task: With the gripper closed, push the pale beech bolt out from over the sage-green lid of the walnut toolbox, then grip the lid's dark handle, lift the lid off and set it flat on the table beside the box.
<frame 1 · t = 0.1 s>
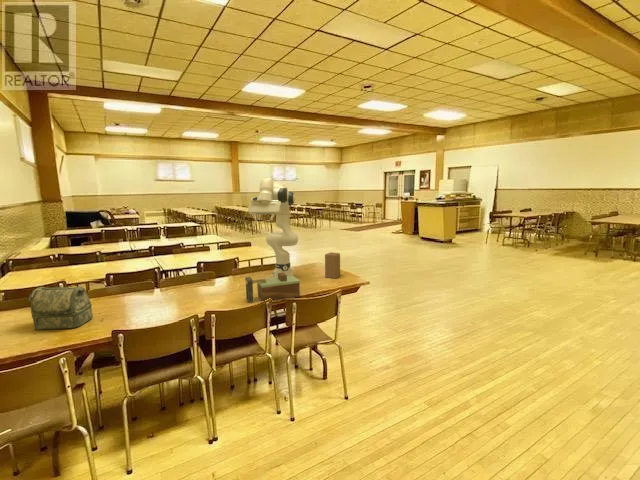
hand: (263, 220, 212), 54 cm above the table, tool tilted 30°, fingers open, 8 cm apart
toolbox: (278, 296, 232), on the table
lid: (278, 283, 231), point 9 cm above the table, touching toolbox
wooden block: (332, 277, 282), on the table
bolt: (255, 281, 224), point 13 cm above the table, slide at 0.0 cm
lunch bag: (63, 324, 189), on the table
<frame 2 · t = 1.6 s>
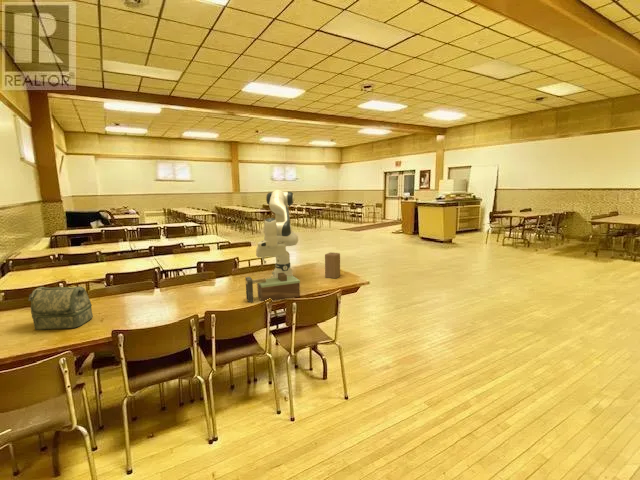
hand: (271, 262, 227), 24 cm above the table, tool pointing down, fingers open, 8 cm apart
nothing on the table moved.
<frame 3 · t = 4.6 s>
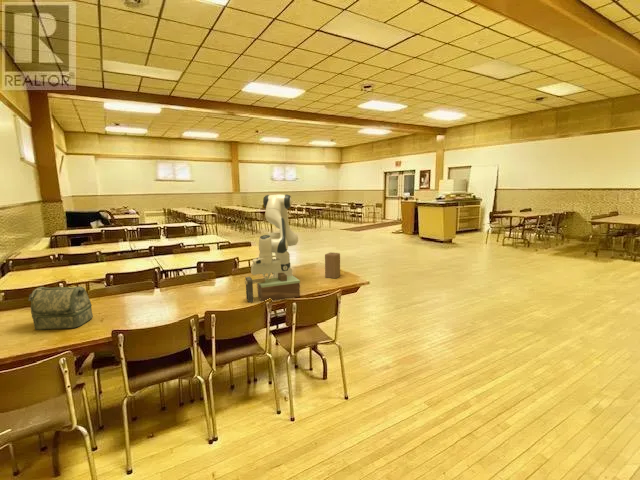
hand: (266, 279, 227), 13 cm above the table, tool pointing down, fingers closed
bolt: (255, 281, 224), point 13 cm above the table, slide at 0.5 cm, touching gripper
everything else where it was.
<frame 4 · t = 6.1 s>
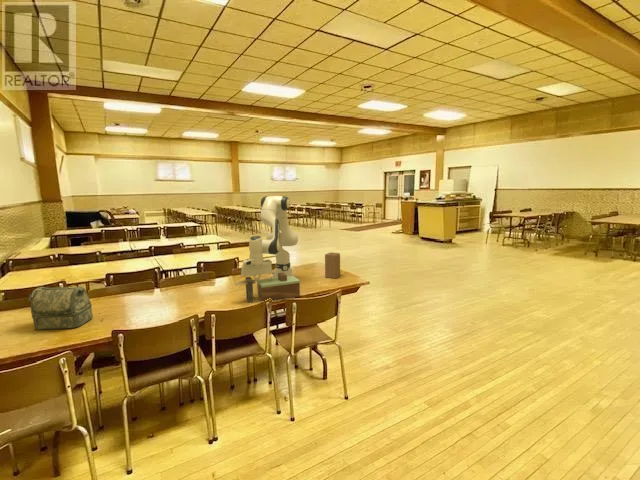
hand: (257, 280, 225), 13 cm above the table, tool pointing down, fingers closed
bolt: (245, 282, 221), point 13 cm above the table, slide at 7.0 cm, touching gripper
everything else where it was.
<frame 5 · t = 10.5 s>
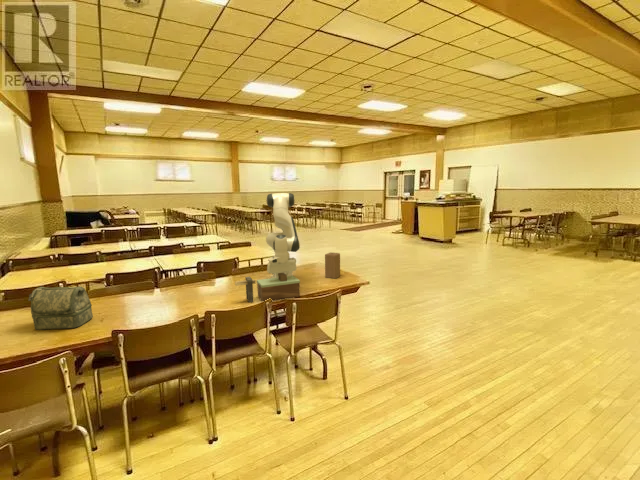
hand: (282, 278, 232), 13 cm above the table, tool pointing down, fingers closed on lid, 4 cm apart
lid: (278, 283, 231), point 9 cm above the table, touching gripper, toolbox
bolt: (245, 282, 221), point 13 cm above the table, slide at 7.0 cm
everything else where it was.
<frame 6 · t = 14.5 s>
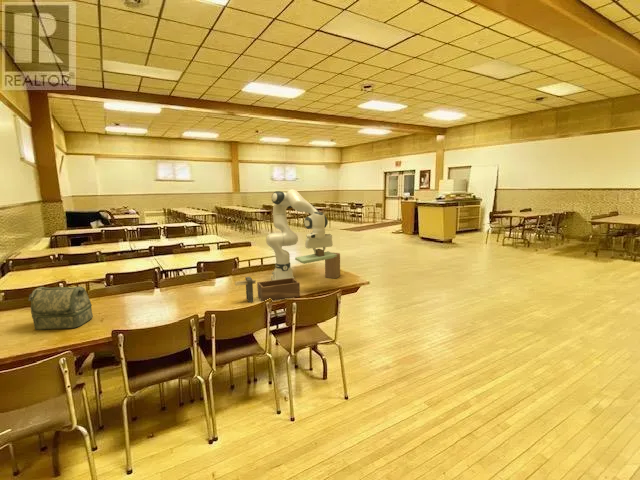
hand: (319, 253, 243), 27 cm above the table, tool pointing down, fingers closed on lid, 4 cm apart
lid: (316, 259, 242), point 23 cm above the table, touching gripper
everything else where it was.
when the fingers open (5 cm above the table, at t = 19.0 s): lid drops 1 cm, on the table.
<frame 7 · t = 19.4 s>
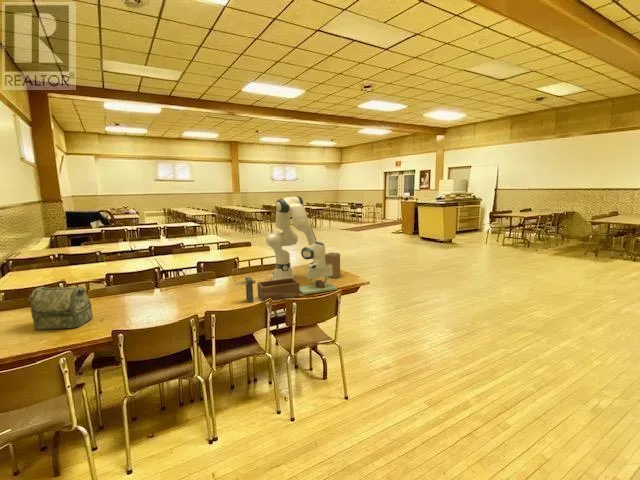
hand: (319, 282, 246), 5 cm above the table, tool pointing down, fingers open, 8 cm apart
lid: (316, 290, 246), on the table
everything else where it was.
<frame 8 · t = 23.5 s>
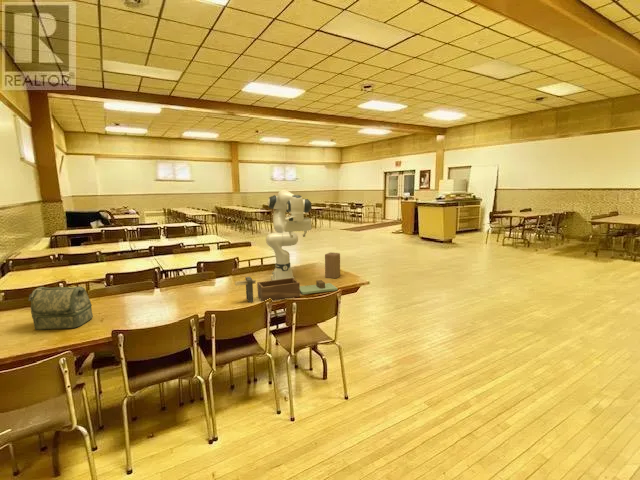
hand: (297, 237, 241), 39 cm above the table, tool pointing down, fingers open, 8 cm apart
at the end: bolt slide at 7.0 cm; lid inside the target area (0.6 cm from its centre), on the table; the gripper is holding nothing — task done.
